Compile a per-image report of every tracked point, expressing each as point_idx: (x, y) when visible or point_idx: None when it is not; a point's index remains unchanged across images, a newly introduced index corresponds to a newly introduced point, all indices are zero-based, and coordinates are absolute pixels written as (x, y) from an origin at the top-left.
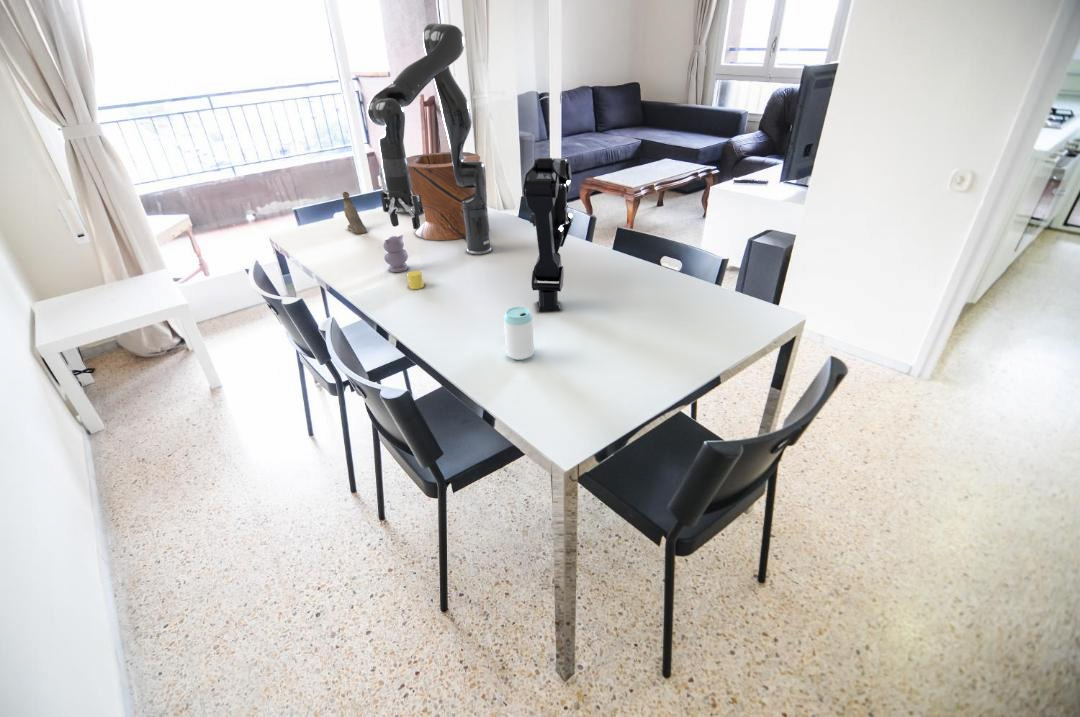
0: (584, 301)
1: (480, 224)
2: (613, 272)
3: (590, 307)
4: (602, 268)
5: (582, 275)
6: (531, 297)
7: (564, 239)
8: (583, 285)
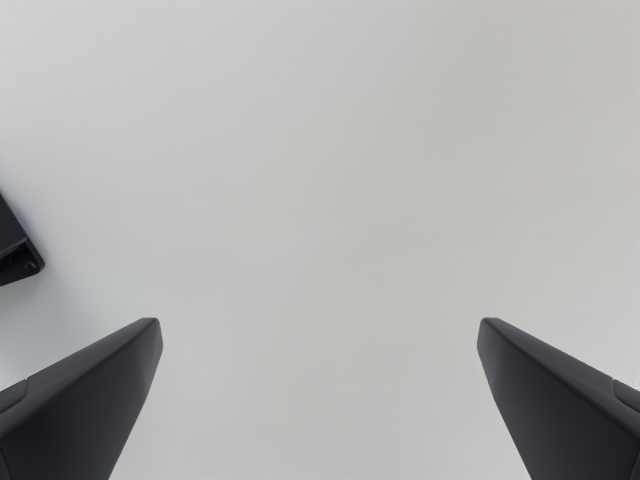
0: None
1: None
2: (496, 452)
3: None
4: None
5: (447, 323)
6: (44, 95)
7: (515, 435)
8: (304, 349)
